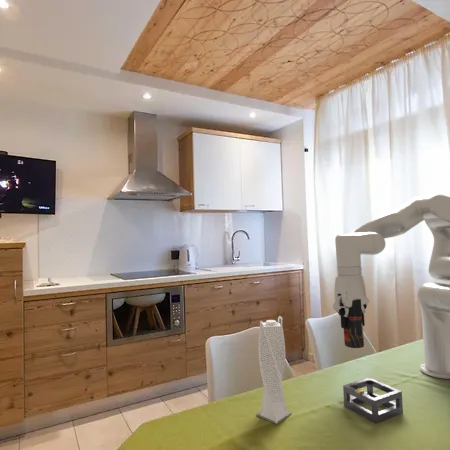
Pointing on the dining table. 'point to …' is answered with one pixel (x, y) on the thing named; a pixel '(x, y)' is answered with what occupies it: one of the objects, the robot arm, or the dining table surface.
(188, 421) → the dining table surface
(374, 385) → the grey open cube frame
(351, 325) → the deodorant
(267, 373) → the skyscraper
